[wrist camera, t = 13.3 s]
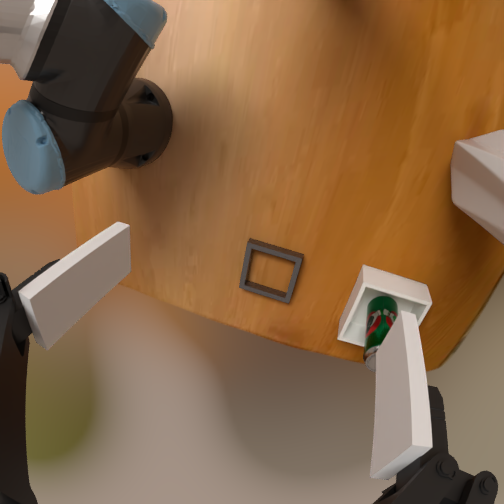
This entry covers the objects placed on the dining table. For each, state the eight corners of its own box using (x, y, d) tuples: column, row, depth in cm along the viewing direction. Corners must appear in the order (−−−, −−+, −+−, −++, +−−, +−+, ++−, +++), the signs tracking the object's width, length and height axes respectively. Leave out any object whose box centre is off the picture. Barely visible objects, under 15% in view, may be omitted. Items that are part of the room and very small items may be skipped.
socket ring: (241, 282, 53) (238, 287, 52) (250, 238, 49) (247, 242, 48) (290, 298, 52) (288, 303, 51) (303, 254, 48) (302, 258, 46)
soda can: (366, 317, 49) (361, 374, 39) (367, 293, 46) (363, 349, 37) (396, 318, 47) (397, 375, 37) (398, 293, 44) (402, 350, 35)
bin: (339, 319, 51) (337, 339, 47) (362, 264, 45) (363, 281, 41) (398, 336, 49) (399, 356, 45) (426, 284, 43) (432, 303, 39)
